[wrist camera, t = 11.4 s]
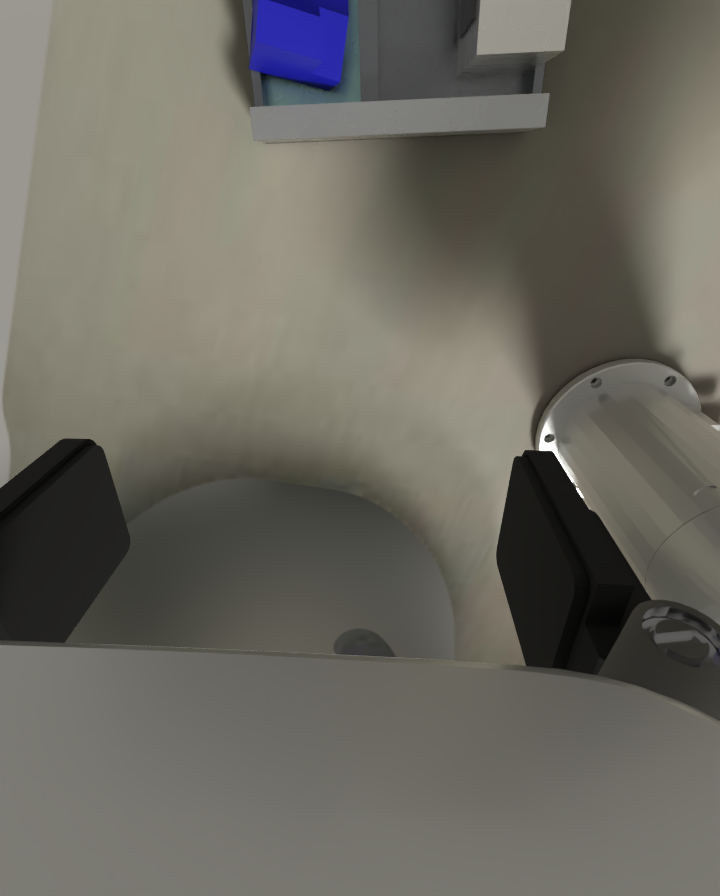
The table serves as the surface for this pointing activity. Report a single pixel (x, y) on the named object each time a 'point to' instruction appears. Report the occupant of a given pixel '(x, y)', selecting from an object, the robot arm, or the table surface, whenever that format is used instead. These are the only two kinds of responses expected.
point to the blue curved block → (299, 40)
